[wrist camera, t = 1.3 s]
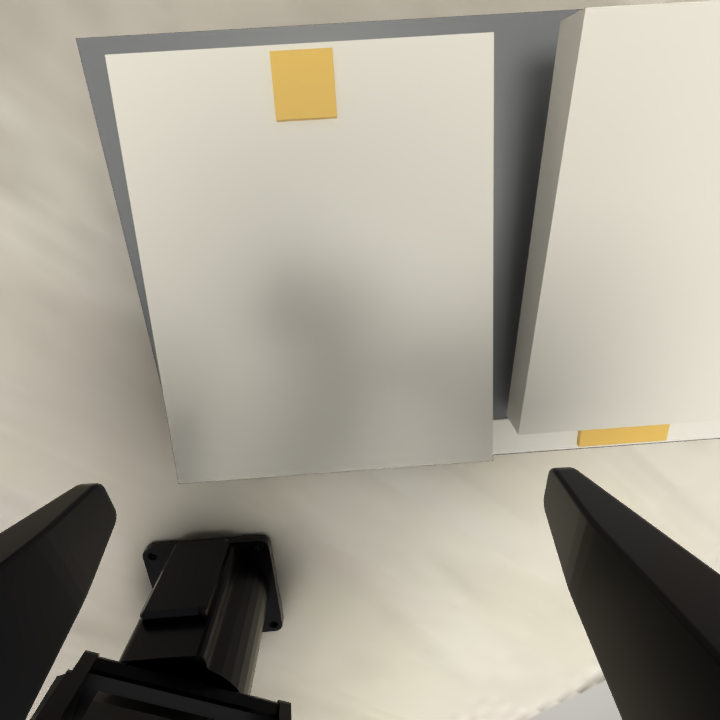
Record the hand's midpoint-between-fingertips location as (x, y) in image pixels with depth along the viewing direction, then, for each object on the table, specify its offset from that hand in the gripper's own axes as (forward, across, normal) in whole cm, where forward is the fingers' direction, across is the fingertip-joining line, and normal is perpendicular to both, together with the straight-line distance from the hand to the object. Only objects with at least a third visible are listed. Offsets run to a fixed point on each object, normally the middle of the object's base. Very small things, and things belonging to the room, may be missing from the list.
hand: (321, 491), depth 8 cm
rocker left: (+6, 0, -2) cm, 7 cm away
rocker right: (+7, -11, -2) cm, 13 cm away
